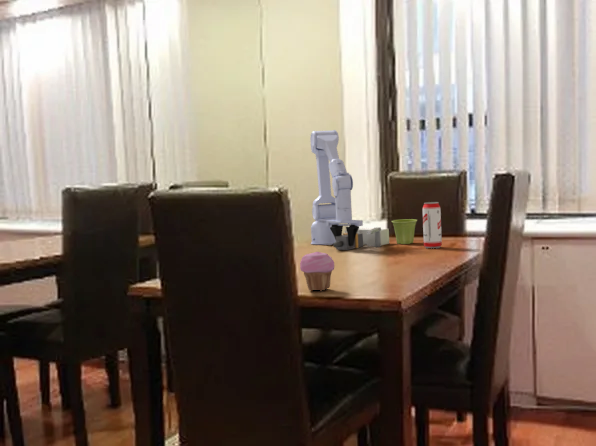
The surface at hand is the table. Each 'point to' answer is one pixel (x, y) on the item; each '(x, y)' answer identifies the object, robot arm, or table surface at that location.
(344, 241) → the plug
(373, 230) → the flat metal lever
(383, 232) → the socket block
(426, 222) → the beer can
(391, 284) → the table surface
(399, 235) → the plant pot
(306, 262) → the cupcake
